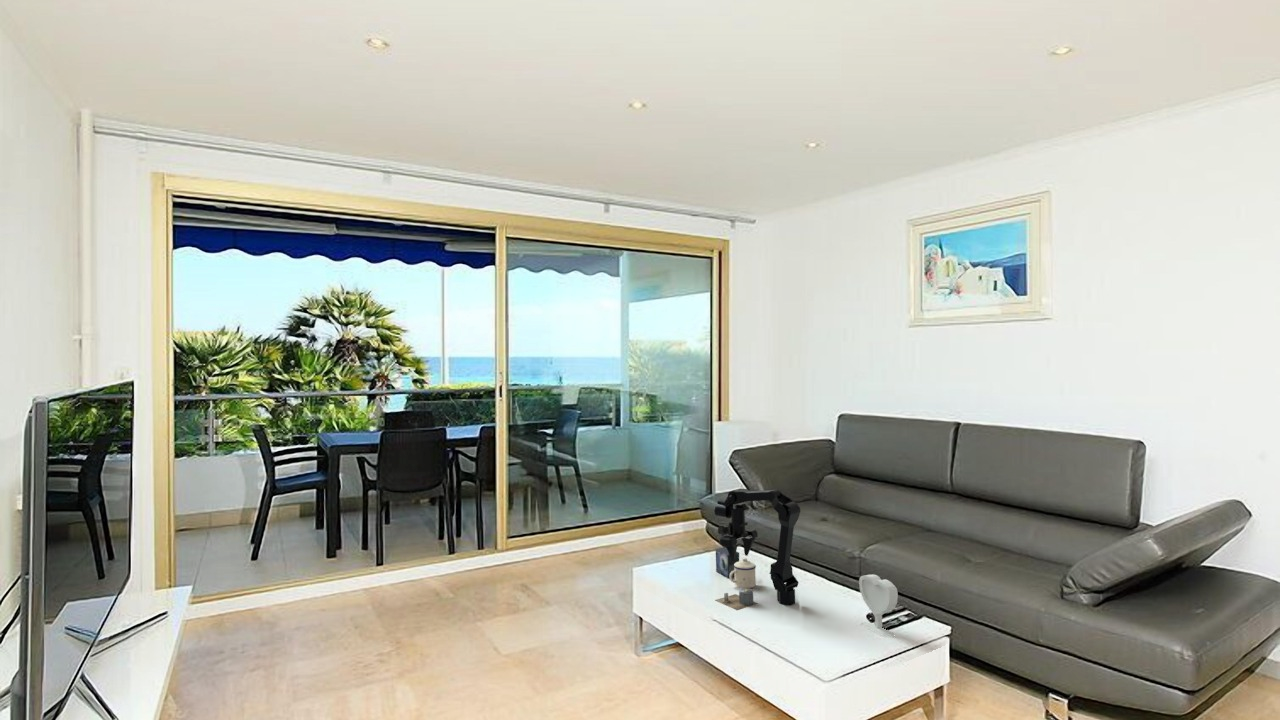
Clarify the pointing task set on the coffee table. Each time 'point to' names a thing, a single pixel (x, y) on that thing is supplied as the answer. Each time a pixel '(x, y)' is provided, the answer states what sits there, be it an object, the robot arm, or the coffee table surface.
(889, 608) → the heart sculpture
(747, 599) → the knob
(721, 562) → the small box
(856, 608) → the coffee table surface
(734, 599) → the base plate
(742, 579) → the teacup with lid
